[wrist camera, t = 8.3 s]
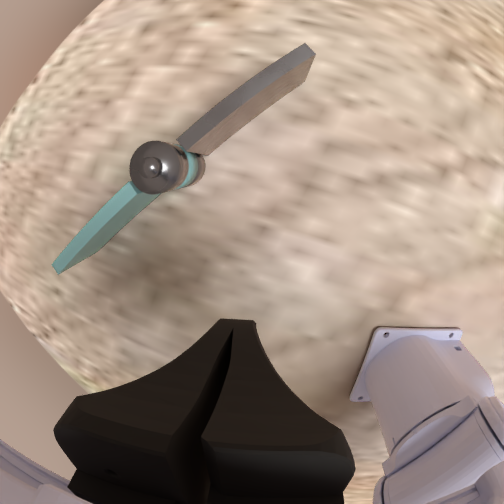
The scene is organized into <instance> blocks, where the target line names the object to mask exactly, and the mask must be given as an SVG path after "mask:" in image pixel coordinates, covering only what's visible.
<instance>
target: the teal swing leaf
mask: <svg viewBox="0 0 504 504" xmlns="http://www.w3.org/2000/svg"><path fill="white" fill-rule="evenodd" d="M175 145H176V144H175ZM177 146H179V147H180V148H181V149H182V150H183V151H184V152H185V154H186V156H187V158H188V162H189V170H188V174H187V177H186V179H185V181H184V182H183V183H182V184H181V185H180V186H179V187H178V188H176V189H179V188H183V187H185V186H187V185H189V184H190V183H191V182H192V181H193V180H194V178H195V177H196V175H197V171H198V161H197V158H196V156H195V154H194V153H193V152H187V151H186V150H185V149H184V148H183V147H182V146H181V145H177ZM174 190H175V189H174ZM160 194H161V193H160ZM160 194H153V195H151V194H146V193H144V192H142V191H140V190H139V189H138V188H137V187H136V186H135V185H134V183H133V181H130V182H128V183H127V184H126V185H125V186H124V187H122V188H121V189H120V190H119V191H118V192H117V193H116V194H115V195H114V196H113V197H112V198H111V199H110V200H109V201H108V202H107V203H106V204H105V205H104V206H103V207H102V208H101V209H100V210H99V211H98V212H97V214H96V215H95V216H94V217H93V218H92V219H91V220H90V221H89V222H88V223H87V224H86V225H85V226H84V227H83V229H82V230H81V231H80V232H79V233H78V234H77V235H76V236H75V237H74V239H73V240H72V241H71V242H70V243H69V244H68V246H67V247H66V248H65V249H64V250H63V251H62V253H61V254H60V255H59V256H58V257H57V259H56V260H55V261H54V262H53V264H52V266H53V267H54V269H55V270H56V272H57V273H58V275H59V274H60V273H62V272H64V271H65V270H67V269H69V268H70V267H72V266H74V265H75V264H77V263H79V262H81V261H82V260H84V259H86V258H88V257H89V256H91V255H93V254H95V253H96V252H98V251H99V250H100V249H101V248H102V247H103V246H104V245H105V244H106V243H107V242H108V241H109V240H110V239H111V238H112V237H113V236H114V235H115V234H116V233H117V232H118V231H120V230H121V229H122V228H123V227H124V226H125V225H126V224H127V223H128V222H129V221H130V220H132V219H133V218H134V217H135V216H136V215H137V214H138V213H139V212H140V211H142V210H143V209H144V208H145V207H146V206H147V205H148V204H150V203H151V202H152V201H153V200H154V199H155V198H157V197H158V196H159V195H160Z"/></svg>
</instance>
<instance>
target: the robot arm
mask: <svg viewBox="0 0 504 504" xmlns="http://www.w3.org/2000/svg"><path fill="white" fill-rule="evenodd" d="M386 332H388V333H387V334H386V335H384V334H385V333H386ZM462 333H463V332H462V330H461V329H459V328H456V329H430V328H389V327H379V328H377V329H376V330H375V332H374V334H373V337H372V340H371V343H370V346H369V348H368V351H367V354H366V357H365V359H364V362H363V365H362V367H361V370H360V372H359V375H358V377H357V380H356V382H355V385H354V387H353V389H352V392H351V394H350V397H349V398H350V400H351V401H352V402H365V401H371V402H372V405H373V408H374V411H375V414H376V417H377V420H378V422H379V425H380V428H381V431H382V434H383V437H384V441H385V444H386V447H387V450H388V453H389V456H390V457H389V458H388V459H387V460H386V461H385V462H383V463H382V466H383V469H384V473H385V476H383V477H381V478H380V479H379V480H378V482H377V483H376V486H375V489H374V495H373V504H504V404H503V403H502V402H501V401H500V400H499V399H498V398H497V397H496V396H495V395H494V386H493V383H492V380H491V378H490V376H489V374H488V373H487V372H486V371H485V369H484V368H483V367H482V366H481V365H480V363H479V362H478V361H477V360H476V359H475V357H474V356H473V355H472V354H471V353H470V352H469V351H468V349H467V348H466V347H465V346H464V345H463V344H462V343H461V341H460V339H461V336H462ZM54 435H55V438H56V440H57V442H58V444H59V446H60V447H61V448H62V450H63V451H64V453H65V454H66V455H67V457H68V458H69V459H70V461H71V462H72V463H73V464H74V466H75V467H76V468H77V470H76V472H75V473H74V476H73V477H72V479H71V481H69V480H67V479H65V478H63V477H61V476H59V475H57V474H56V473H54V472H52V471H50V470H48V469H46V468H44V467H43V466H41V465H39V464H37V463H36V462H34V461H32V460H31V459H29V458H27V457H26V456H24V455H23V454H21V453H20V452H18V451H17V450H15V449H14V448H12V447H10V446H9V445H8V444H6V443H5V442H3V441H2V440H1V439H0V504H344V498H343V491H344V490H345V488H346V487H347V485H348V483H349V482H350V480H351V479H352V477H353V475H354V472H355V463H354V459H353V455H352V453H351V450H350V448H349V445H348V443H347V441H346V438H345V436H344V434H343V432H342V431H341V429H339V428H338V427H336V426H334V425H333V424H331V423H330V422H328V421H327V420H325V419H324V418H322V417H320V416H319V415H318V414H316V413H315V412H314V411H313V410H311V409H310V408H309V407H308V406H307V405H306V404H305V403H304V402H303V401H302V400H300V399H299V398H298V397H297V396H296V395H295V394H294V393H293V392H292V391H291V389H290V388H289V387H288V386H287V385H286V384H285V382H284V381H283V380H282V378H281V377H280V376H279V374H278V373H277V372H276V370H275V369H274V367H273V365H272V364H271V362H270V360H269V359H268V357H267V355H266V353H265V351H264V349H263V346H262V344H261V342H260V339H259V336H258V333H257V329H256V323H255V322H254V321H253V320H236V319H220V320H219V321H217V322H216V323H215V324H214V325H213V326H212V327H211V328H210V329H209V330H208V331H207V332H206V333H205V334H204V335H203V336H202V337H201V338H200V339H199V340H198V341H197V342H196V343H195V344H193V345H192V346H191V347H190V348H189V349H187V350H186V351H185V352H184V353H182V354H181V355H180V356H178V357H177V358H176V359H174V360H173V361H171V362H170V363H168V364H166V365H165V366H163V367H161V368H160V369H158V370H156V371H154V372H152V373H150V374H148V375H146V376H144V377H141V378H139V379H137V380H135V381H132V382H130V383H127V384H124V385H122V386H119V387H116V388H112V389H109V390H105V391H101V392H97V393H92V394H88V395H83V396H77V397H76V398H75V399H74V401H73V402H72V403H71V404H70V406H69V407H68V408H67V410H66V411H65V413H64V414H63V416H62V417H61V418H60V420H59V421H58V422H57V424H56V425H55V427H54Z"/></svg>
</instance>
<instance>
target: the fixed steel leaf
mask: <svg viewBox="0 0 504 504" xmlns="http://www.w3.org/2000/svg"><path fill="white" fill-rule="evenodd" d="M315 55H316V54H315V53H314V52H313V51H312V50H311V49H310V48H309V47H308V46H307V45H306V44H305V43H304V44H303V45H301V46H299V47H298V48H296V49H294V50H293V51H291V52H290V53H288V54H287V55H285V56H283V57H282V58H280V59H279V60H277V61H276V62H274V63H273V64H271V65H270V66H268V67H267V68H265V69H264V70H263V71H261V72H260V73H258V74H257V75H255V76H254V77H253V78H251V79H250V80H249V81H247V82H246V83H244V84H243V85H242V86H240V87H239V88H238V89H236V90H235V91H234V92H232V93H231V94H230V95H229V96H227V97H226V98H225V99H223V100H222V101H221V102H220V103H218V104H217V105H216V106H215V107H214V108H212V109H211V110H210V111H209V112H207V113H206V114H205V115H204V116H203V117H201V118H200V119H199V120H198V121H197V122H196V123H194V124H193V125H192V126H191V127H190V128H189V129H188V130H186V131H185V132H184V133H183V134H182V135H181V136H180V137H179V138H178V139H176V140H177V141H178V142H179V143H180V145H181V146H182V147H183V148H184V149H185V150H186V151H187V152H193V153H194V154H195V156H196V158H197V161H198V171H197V175H196V177H195V178H194V180H193V181H192V182H191V183H190V184H189V185H187V186H191V185H194V184H195V183H197V182H198V181H199V180H200V179H201V178H202V176H203V174H204V172H205V160H204V158H203V156H202V155H201V154H204V155H209V154H210V153H211V152H213V151H214V150H215V149H216V148H217V147H219V146H220V145H221V144H222V143H223V142H225V141H226V140H227V139H228V138H229V137H231V136H232V135H233V134H234V133H236V132H237V131H238V130H239V129H241V128H242V127H243V126H244V125H246V124H247V123H248V122H250V121H251V120H252V119H254V118H255V117H256V116H257V115H259V114H260V113H261V112H263V111H264V110H265V109H267V108H268V107H269V106H271V105H272V104H274V103H275V102H276V101H278V100H279V99H280V98H282V97H283V96H285V95H286V94H288V93H289V92H290V91H292V90H293V89H295V88H296V87H298V86H299V85H301V84H302V83H303V82H305V80H306V77H307V75H308V72H309V70H310V67H311V65H312V62H313V60H314V57H315ZM188 170H189V162H188V158H187V156H186V154H185V152H184V151H183V150H182V149H181V148H180V147H179V146H177V145H175V144H171V143H166V142H161V141H150V142H147V143H144V144H143V145H141V146H140V147H139V148H138V149H137V150H136V151H135V153H134V154H133V156H132V158H131V162H130V176H131V179H132V181H133V183H134V185H135V186H136V187H137V188H138V189H139V190H140V191H142V192H144V193H146V194H151V195H153V194H160V193H164V192H167V191H171V190H174V189H176V188H178V187H179V186H180V185H181V184H182V183H183V182H184V181H185V179H186V177H187V174H188ZM187 186H185V187H187Z"/></svg>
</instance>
